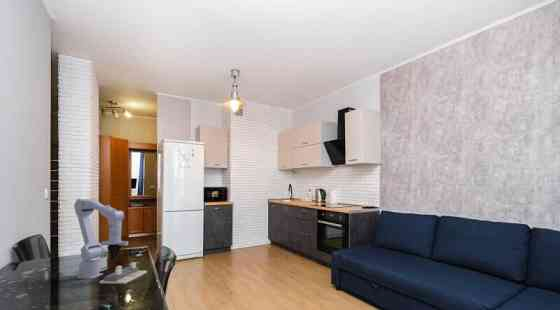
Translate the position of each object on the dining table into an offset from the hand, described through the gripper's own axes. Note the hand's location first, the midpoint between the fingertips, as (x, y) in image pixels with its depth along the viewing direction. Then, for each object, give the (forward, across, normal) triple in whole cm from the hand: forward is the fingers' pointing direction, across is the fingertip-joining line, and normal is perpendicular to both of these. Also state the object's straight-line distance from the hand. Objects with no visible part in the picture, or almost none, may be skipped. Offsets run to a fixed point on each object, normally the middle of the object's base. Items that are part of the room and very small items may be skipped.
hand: (113, 259), depth 150 cm
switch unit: (+10, +4, +3) cm, 12 cm away
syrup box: (+11, -21, +16) cm, 28 cm away
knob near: (+7, +5, -3) cm, 9 cm away
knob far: (+7, +5, +9) cm, 12 cm away
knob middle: (+7, +1, +3) cm, 8 cm away
